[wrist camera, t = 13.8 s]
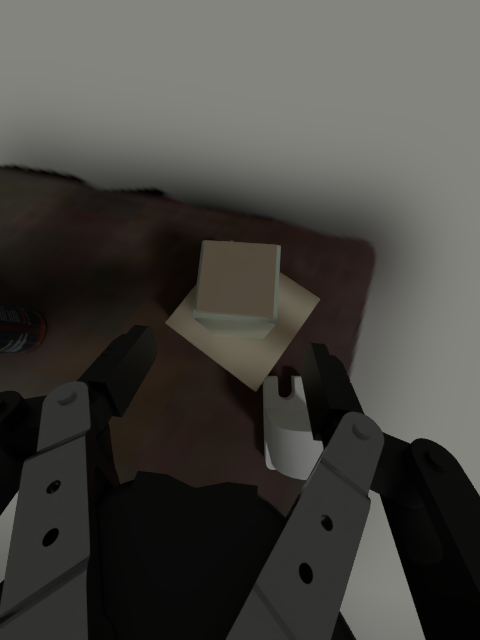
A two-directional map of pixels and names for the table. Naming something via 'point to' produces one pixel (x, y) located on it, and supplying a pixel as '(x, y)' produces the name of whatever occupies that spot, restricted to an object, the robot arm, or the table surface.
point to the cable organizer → (288, 430)
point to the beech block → (246, 353)
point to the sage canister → (237, 288)
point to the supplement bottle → (20, 330)
